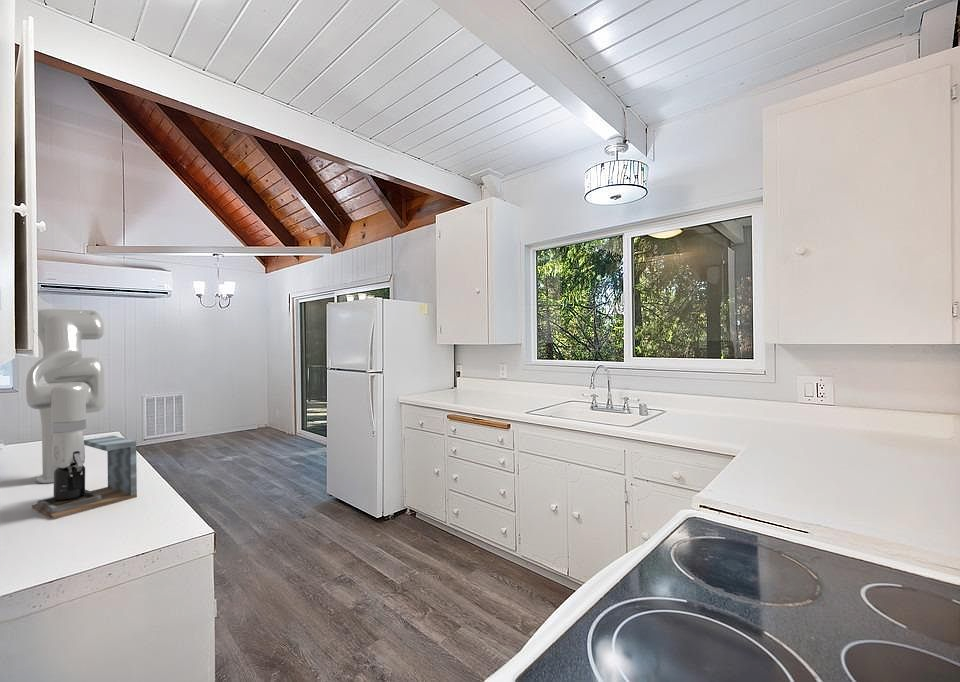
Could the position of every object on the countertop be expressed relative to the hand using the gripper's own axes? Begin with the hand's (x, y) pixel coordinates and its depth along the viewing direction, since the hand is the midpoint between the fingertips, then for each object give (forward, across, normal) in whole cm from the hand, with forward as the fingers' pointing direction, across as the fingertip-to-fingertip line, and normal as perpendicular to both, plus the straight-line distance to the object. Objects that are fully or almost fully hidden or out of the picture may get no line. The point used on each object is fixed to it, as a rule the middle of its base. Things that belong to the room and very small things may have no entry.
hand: (69, 487), depth 130 cm
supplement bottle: (+3, 0, 0) cm, 3 cm away
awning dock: (+6, 0, +4) cm, 7 cm away
